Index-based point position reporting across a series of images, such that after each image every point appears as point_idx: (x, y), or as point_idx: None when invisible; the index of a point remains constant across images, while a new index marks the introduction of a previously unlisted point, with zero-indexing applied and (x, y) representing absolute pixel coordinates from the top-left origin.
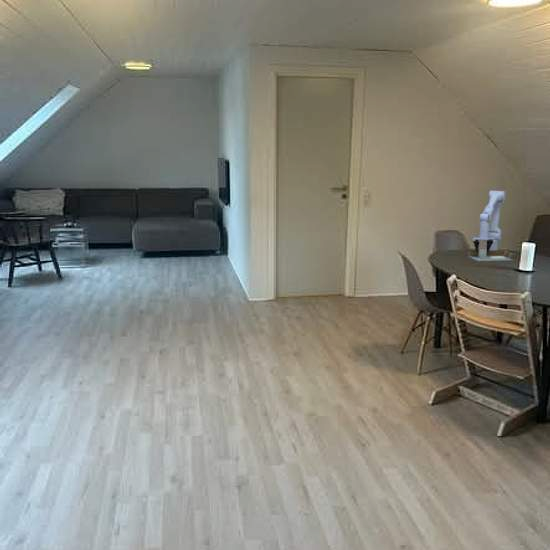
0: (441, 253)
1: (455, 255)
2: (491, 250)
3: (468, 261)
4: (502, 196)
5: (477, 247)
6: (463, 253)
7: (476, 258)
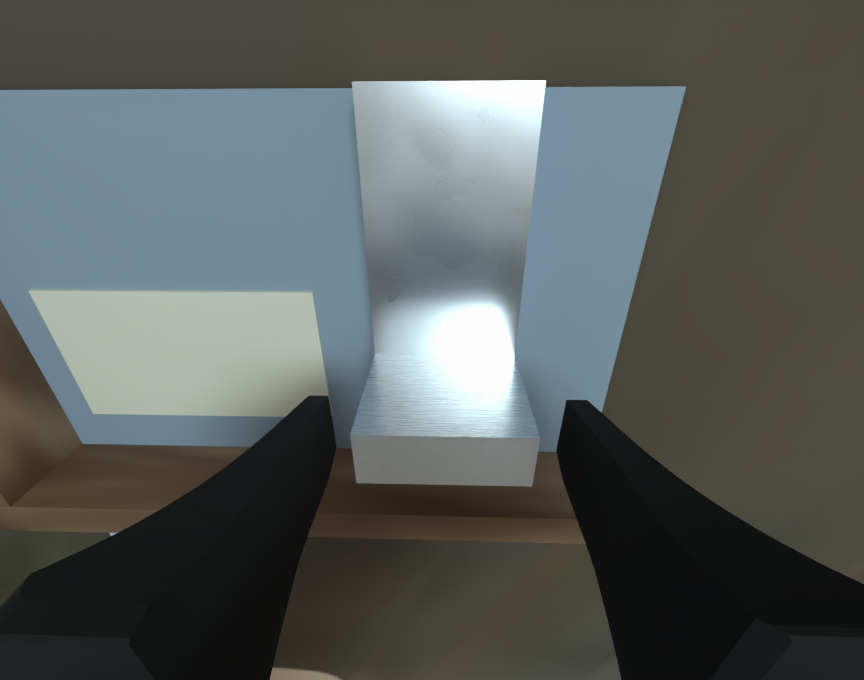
0: None
1: None
2: None
3: (838, 145)
4: None
5: (648, 463)
6: (511, 594)
7: (562, 313)
